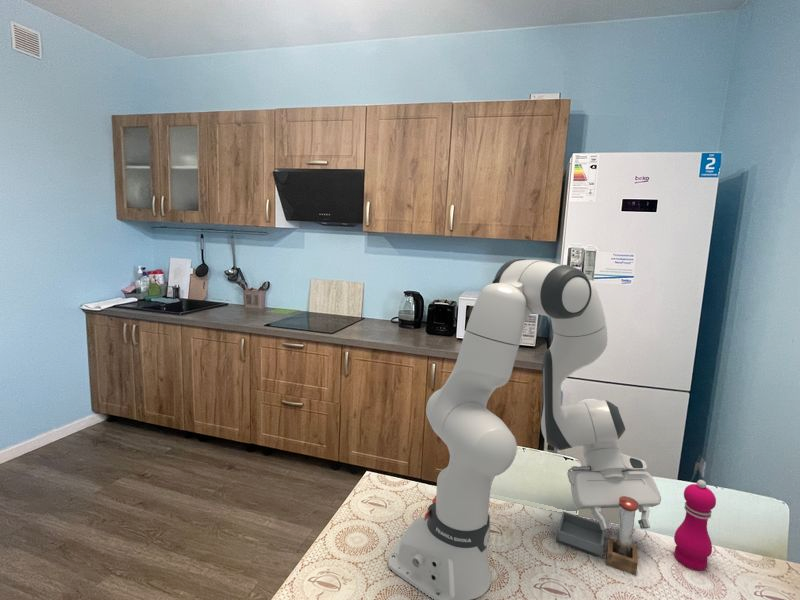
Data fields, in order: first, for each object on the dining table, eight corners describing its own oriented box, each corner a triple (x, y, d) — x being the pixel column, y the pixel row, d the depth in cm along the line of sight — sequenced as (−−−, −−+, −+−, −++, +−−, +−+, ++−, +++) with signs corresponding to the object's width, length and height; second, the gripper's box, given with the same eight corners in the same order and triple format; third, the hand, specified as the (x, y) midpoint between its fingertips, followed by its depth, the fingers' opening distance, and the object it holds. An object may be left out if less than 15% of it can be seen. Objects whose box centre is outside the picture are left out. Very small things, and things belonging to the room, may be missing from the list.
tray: (556, 542, 103) (557, 531, 102) (561, 521, 111) (562, 511, 110) (601, 558, 98) (603, 547, 98) (604, 535, 106) (605, 524, 105)
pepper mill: (715, 575, 94) (729, 492, 91) (679, 569, 96) (691, 487, 93) (699, 552, 101) (711, 474, 98) (666, 546, 103) (677, 469, 100)
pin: (611, 563, 97) (618, 503, 94) (612, 553, 100) (619, 494, 98) (630, 570, 95) (638, 508, 93) (630, 559, 98) (638, 499, 96)
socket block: (606, 564, 96) (607, 552, 96) (607, 548, 101) (608, 537, 101) (636, 575, 93) (637, 563, 93) (636, 558, 99) (637, 546, 98)
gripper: (570, 462, 101) (588, 528, 93) (651, 461, 103) (676, 525, 94) (560, 469, 106) (576, 532, 98) (637, 468, 108) (659, 529, 100)
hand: (626, 529), depth 96 cm, fingers open, 8 cm apart
